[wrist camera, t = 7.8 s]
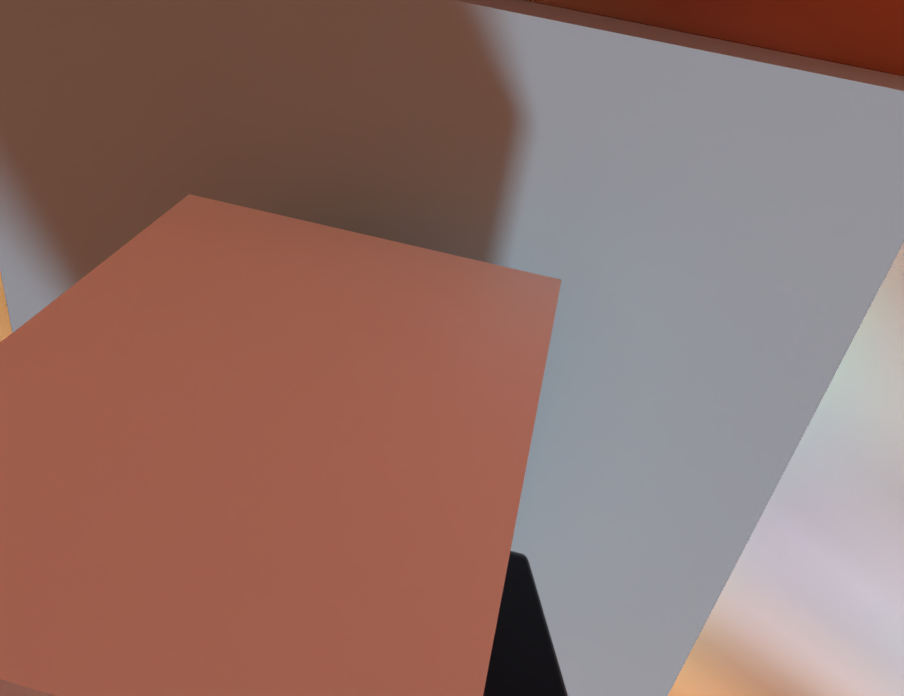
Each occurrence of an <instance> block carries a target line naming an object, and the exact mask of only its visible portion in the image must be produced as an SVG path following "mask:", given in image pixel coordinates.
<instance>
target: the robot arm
mask: <svg viewBox="0 0 904 696" xmlns="http://www.w3.org/2000/svg"><path fill="white" fill-rule="evenodd" d="M483 696H568V694H567V690H566V687H565V683H564V680H563V676H562V673H561V670H560V666H559V663H558V659H557V656H556V653H555V649H554V646H553V642H552V639H551V635H550V632H549V629H548V625H547V622H546V618H545V615H544V611H543V608H542V605H541V601H540V598H539V594H538V591H537V588H536V584H535V581H534V577H533V574H532V570H531V567H530V564H529V561H528V559H527V557H526V556H525V555H524V554H522V553H518V552H514V551H510V556H509V561H508V566H507V572H506V577H505V582H504V587H503V593H502V598H501V603H500V609H499V614H498V619H497V625H496V630H495V635H494V640H493V646H492V651H491V656H490V662H489V667H488V672H487V677H486V683H485V688H484V693H483Z"/></svg>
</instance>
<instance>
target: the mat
mask: <svg viewBox="0 0 904 696" xmlns="http://www.w3.org/2000/svg"><path fill="white" fill-rule="evenodd" d="M189 194H191V195H195V196H200V197H204V198H208V199H213V200H217V201H221V202H226V203H230V204H234V205H239V206H243V207H247V208H252V209H256V210H260V211H265V212H269V213H273V214H278V215H282V216H287V217H291V218H295V219H300V220H304V221H308V222H313V223H317V224H321V225H326V226H330V227H334V228H339V229H343V230H347V231H352V232H356V233H360V234H365V235H369V236H374V237H378V238H382V239H387V240H391V241H395V242H400V243H404V244H408V245H413V246H417V247H421V248H426V249H430V250H434V251H439V252H443V253H447V254H452V255H456V256H461V257H465V258H469V259H474V260H478V261H482V262H487V263H491V264H495V265H500V266H504V267H508V268H513V269H517V270H521V271H526V272H530V273H534V274H539V275H543V276H548V277H552V278H556V279H561V286H560V291H559V296H558V302H557V307H556V312H555V318H554V323H553V328H552V333H551V339H550V344H549V349H548V355H547V360H546V365H545V370H544V376H543V381H542V386H541V392H540V397H539V402H538V408H537V413H536V418H535V423H534V429H533V434H532V439H531V445H530V450H529V455H528V460H527V466H526V471H525V476H524V482H523V487H522V492H521V497H520V503H519V508H518V513H517V519H516V524H515V529H514V535H513V540H512V545H511V550H510V551H514V552H518V553H522V554H524V555H525V556H526V557H527V559H528V561H529V564H530V567H531V570H532V574H533V577H534V581H535V584H536V588H537V591H538V594H539V598H540V601H541V605H542V608H543V611H544V615H545V618H546V622H547V625H548V629H549V632H550V635H551V639H552V642H553V646H554V649H555V653H556V656H557V659H558V663H559V666H560V670H561V673H562V676H563V680H564V683H565V687H566V690H567V694H568V696H668V694H669V692H670V690H671V688H672V686H673V684H674V682H675V680H676V678H677V676H678V675H679V673H680V671H681V669H682V667H683V665H684V663H685V661H686V659H687V657H688V655H689V653H690V651H691V650H692V648H693V646H694V644H695V642H696V640H697V638H698V636H699V634H700V632H701V630H702V628H703V626H704V625H705V623H706V621H707V619H708V617H709V615H710V613H711V611H712V609H713V607H714V605H715V603H716V601H717V600H718V598H719V596H720V594H721V592H722V590H723V588H724V586H725V584H726V582H727V580H728V578H729V576H730V575H731V573H732V571H733V569H734V567H735V565H736V563H737V561H738V559H739V557H740V555H741V553H742V551H743V550H744V548H745V546H746V544H747V542H748V540H749V538H750V536H751V534H752V532H753V530H754V528H755V526H756V525H757V523H758V521H759V519H760V517H761V515H762V513H763V511H764V509H765V507H766V505H767V503H768V501H769V500H770V498H771V496H772V494H773V492H774V490H775V488H776V486H777V484H778V482H779V480H780V478H781V476H782V475H783V473H784V471H785V469H786V467H787V465H788V463H789V461H790V459H791V457H792V455H793V453H794V451H795V450H796V448H797V446H798V444H799V442H800V440H801V438H802V436H803V434H804V432H805V430H806V428H807V426H808V425H809V423H810V421H811V419H812V417H813V415H814V413H815V411H816V409H817V407H818V405H819V403H820V401H821V400H822V398H823V396H824V394H825V392H826V390H827V388H828V386H829V384H830V382H831V380H832V378H833V376H834V375H835V373H836V371H837V369H838V367H839V365H840V363H841V361H842V359H843V357H844V355H845V353H846V351H847V350H848V348H849V346H850V344H851V342H852V340H853V338H854V336H855V334H856V332H857V330H858V328H859V326H860V325H861V323H862V321H863V319H864V317H865V315H866V313H867V311H868V309H869V307H870V305H871V303H872V301H873V300H874V298H875V296H876V294H877V292H878V290H879V288H880V286H881V284H882V282H883V280H884V278H885V276H886V275H887V273H888V271H889V269H890V267H891V265H892V263H893V261H894V259H895V257H896V255H897V253H898V251H899V250H900V248H901V246H902V244H903V242H904V76H900V75H895V74H890V73H885V72H880V71H875V70H870V69H865V68H860V67H855V66H850V65H845V64H840V63H835V62H830V61H825V60H820V59H815V58H810V57H805V56H800V55H795V54H790V53H785V52H780V51H775V50H770V49H765V48H760V47H755V46H750V45H745V44H740V43H735V42H730V41H725V40H720V39H715V38H710V37H705V36H700V35H695V34H690V33H685V32H680V31H675V30H670V29H665V28H660V27H655V26H650V25H645V24H640V23H635V22H630V21H625V20H620V19H615V18H610V17H605V16H600V15H595V14H590V13H585V12H580V11H575V10H570V9H565V8H560V7H555V6H550V5H545V4H540V3H535V2H530V1H525V0H0V271H1V276H2V281H3V286H4V292H5V297H6V302H7V307H8V312H9V317H10V322H11V328H12V333H13V332H15V331H16V330H17V329H18V328H20V327H21V326H22V325H23V324H25V323H26V322H27V321H29V320H30V319H31V318H32V317H34V316H35V315H36V314H37V313H39V312H40V311H41V310H43V309H44V308H45V307H46V306H48V305H49V304H50V303H51V302H53V301H54V300H55V299H57V298H58V297H59V296H60V295H62V294H63V293H64V292H65V291H67V290H68V289H69V288H71V287H72V286H73V285H74V284H76V283H77V282H78V281H79V280H81V279H82V278H83V277H84V276H86V275H87V274H88V273H90V272H91V271H92V270H93V269H95V268H96V267H97V266H98V265H100V264H101V263H102V262H104V261H105V260H106V259H107V258H109V257H110V256H111V255H112V254H114V253H115V252H116V251H118V250H119V249H120V248H121V247H123V246H124V245H125V244H126V243H128V242H129V241H130V240H132V239H133V238H134V237H135V236H137V235H138V234H139V233H140V232H142V231H143V230H144V229H146V228H147V227H148V226H149V225H151V224H152V223H153V222H154V221H156V220H157V219H158V218H160V217H161V216H162V215H163V214H165V213H166V212H167V211H168V210H170V209H171V208H172V207H174V206H175V205H176V204H177V203H179V202H180V201H181V200H182V199H184V198H185V197H186V196H188V195H189Z"/></svg>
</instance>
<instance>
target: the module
mask: <svg viewBox="0 0 904 696" xmlns="http://www.w3.org/2000/svg"><path fill="white" fill-rule="evenodd" d="M560 286H561V279H556V278H552V277H548V276H543V275H539V274H534V273H530V272H526V271H521V270H517V269H513V268H508V267H504V266H500V265H495V264H491V263H487V262H482V261H478V260H474V259H469V258H465V257H461V256H456V255H452V254H447V253H443V252H439V251H434V250H430V249H426V248H421V247H417V246H413V245H408V244H404V243H400V242H395V241H391V240H387V239H382V238H378V237H374V236H369V235H365V234H360V233H356V232H352V231H347V230H343V229H339V228H334V227H330V226H326V225H321V224H317V223H313V222H308V221H304V220H300V219H295V218H291V217H287V216H282V215H278V214H273V213H269V212H265V211H260V210H256V209H252V208H247V207H243V206H239V205H234V204H230V203H226V202H221V201H217V200H213V199H208V198H204V197H200V196H195V195H191V194H189V195H188V196H186V197H185V198H184V199H182V200H181V201H180V202H179V203H177V204H176V205H175V206H174V207H172V208H171V209H170V210H168V211H167V212H166V213H165V214H163V215H162V216H161V217H160V218H158V219H157V220H156V221H154V222H153V223H152V224H151V225H149V226H148V227H147V228H146V229H144V230H143V231H142V232H140V233H139V234H138V235H137V236H135V237H134V238H133V239H132V240H130V241H129V242H128V243H126V244H125V245H124V246H123V247H121V248H120V249H119V250H118V251H116V252H115V253H114V254H112V255H111V256H110V257H109V258H107V259H106V260H105V261H104V262H102V263H101V264H100V265H98V266H97V267H96V268H95V269H93V270H92V271H91V272H90V273H88V274H87V275H86V276H84V277H83V278H82V279H81V280H79V281H78V282H77V283H76V284H74V285H73V286H72V287H71V288H69V289H68V290H67V291H65V292H64V293H63V294H62V295H60V296H59V297H58V298H57V299H55V300H54V301H53V302H51V303H50V304H49V305H48V306H46V307H45V308H44V309H43V310H41V311H40V312H39V313H37V314H36V315H35V316H34V317H32V318H31V319H30V320H29V321H27V322H26V323H25V324H23V325H22V326H21V327H20V328H18V329H17V330H16V331H15V332H13V333H12V334H11V335H9V336H8V337H7V338H6V339H4V340H3V341H2V342H1V343H0V696H483V693H484V688H485V683H486V677H487V672H488V667H489V662H490V656H491V651H492V646H493V640H494V635H495V630H496V625H497V619H498V614H499V609H500V603H501V598H502V593H503V587H504V582H505V577H506V572H507V566H508V561H509V556H510V550H511V545H512V540H513V535H514V529H515V524H516V519H517V513H518V508H519V503H520V497H521V492H522V487H523V482H524V476H525V471H526V466H527V460H528V455H529V450H530V445H531V439H532V434H533V429H534V423H535V418H536V413H537V408H538V402H539V397H540V392H541V386H542V381H543V376H544V370H545V365H546V360H547V355H548V349H549V344H550V339H551V333H552V328H553V323H554V318H555V312H556V307H557V302H558V296H559V291H560Z"/></svg>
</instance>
